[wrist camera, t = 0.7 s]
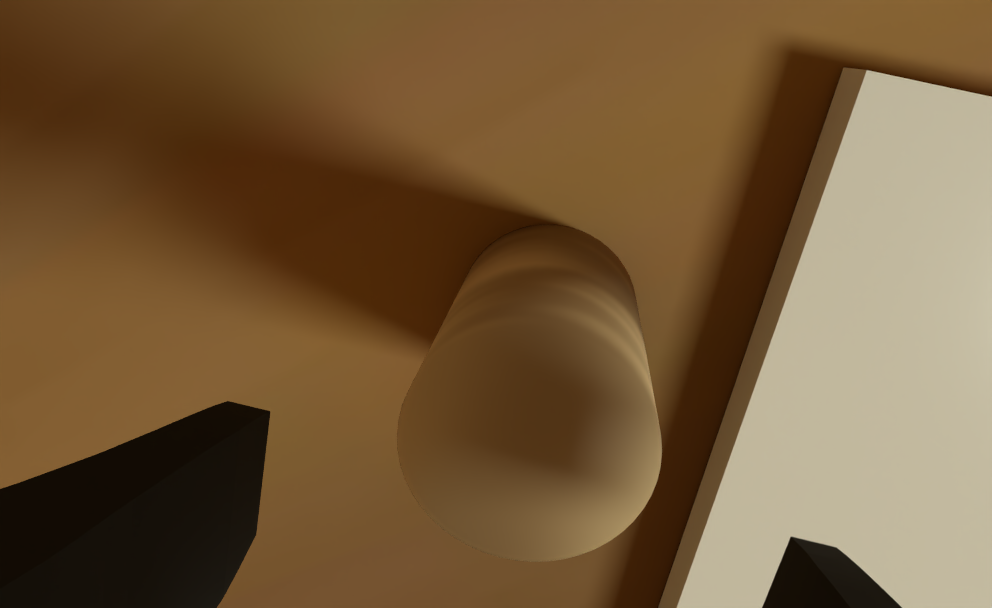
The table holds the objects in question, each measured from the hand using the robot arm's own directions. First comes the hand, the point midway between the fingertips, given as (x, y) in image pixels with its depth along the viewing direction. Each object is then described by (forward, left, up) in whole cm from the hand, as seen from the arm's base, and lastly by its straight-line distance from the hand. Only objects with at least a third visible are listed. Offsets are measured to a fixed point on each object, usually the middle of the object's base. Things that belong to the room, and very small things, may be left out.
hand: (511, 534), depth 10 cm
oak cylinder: (0, 0, -9) cm, 9 cm away
